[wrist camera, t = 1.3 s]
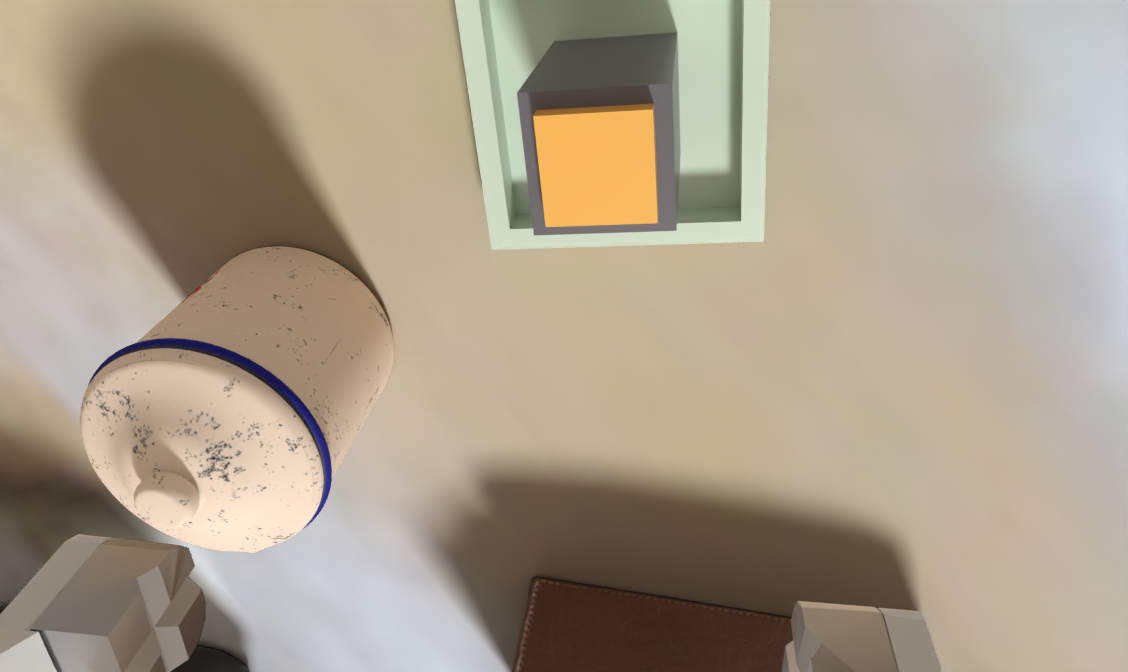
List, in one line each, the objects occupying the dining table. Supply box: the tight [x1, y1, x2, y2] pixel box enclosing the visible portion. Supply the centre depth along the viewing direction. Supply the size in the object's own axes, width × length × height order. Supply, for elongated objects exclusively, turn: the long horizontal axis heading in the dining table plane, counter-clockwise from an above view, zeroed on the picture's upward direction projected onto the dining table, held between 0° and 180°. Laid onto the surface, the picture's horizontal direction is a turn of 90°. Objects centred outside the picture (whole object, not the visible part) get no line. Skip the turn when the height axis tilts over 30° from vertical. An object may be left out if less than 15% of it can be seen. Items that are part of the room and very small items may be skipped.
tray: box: [455, 0, 770, 250], centre depth 29 cm, size 10×10×2 cm
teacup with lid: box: [80, 246, 394, 553], centre depth 33 cm, size 12×9×12 cm
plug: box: [517, 32, 681, 235], centre depth 26 cm, size 4×4×8 cm
